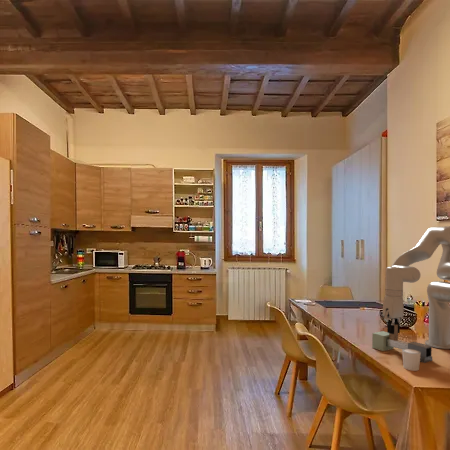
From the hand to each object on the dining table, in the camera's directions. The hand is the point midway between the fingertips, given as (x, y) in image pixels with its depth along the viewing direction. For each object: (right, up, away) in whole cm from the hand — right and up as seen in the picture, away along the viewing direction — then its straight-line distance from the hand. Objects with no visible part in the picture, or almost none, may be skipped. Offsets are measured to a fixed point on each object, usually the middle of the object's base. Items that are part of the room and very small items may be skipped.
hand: (393, 332), depth 180 cm
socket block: (-3, -9, +4) cm, 10 cm away
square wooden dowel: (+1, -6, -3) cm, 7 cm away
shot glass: (-3, -8, -23) cm, 24 cm away
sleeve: (+7, -9, -11) cm, 15 cm away
